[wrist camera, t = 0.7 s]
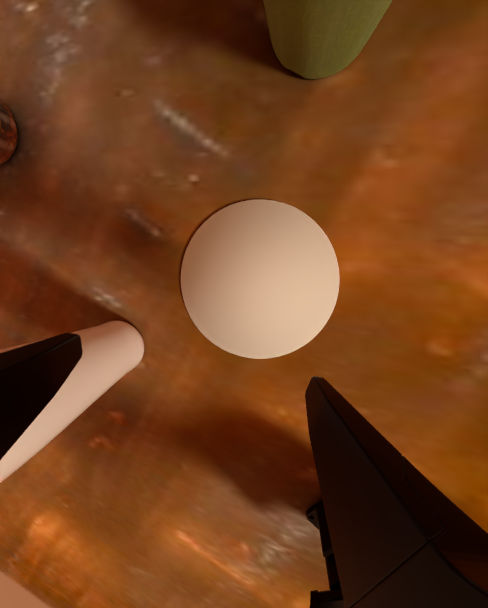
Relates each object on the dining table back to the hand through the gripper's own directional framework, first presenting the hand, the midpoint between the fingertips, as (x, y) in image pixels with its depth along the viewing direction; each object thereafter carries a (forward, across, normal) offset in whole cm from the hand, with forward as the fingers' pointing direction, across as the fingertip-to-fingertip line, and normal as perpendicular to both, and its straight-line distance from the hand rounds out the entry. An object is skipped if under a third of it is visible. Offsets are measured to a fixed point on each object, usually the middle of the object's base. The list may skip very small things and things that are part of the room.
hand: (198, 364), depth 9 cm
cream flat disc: (+12, -3, +1) cm, 13 cm away
